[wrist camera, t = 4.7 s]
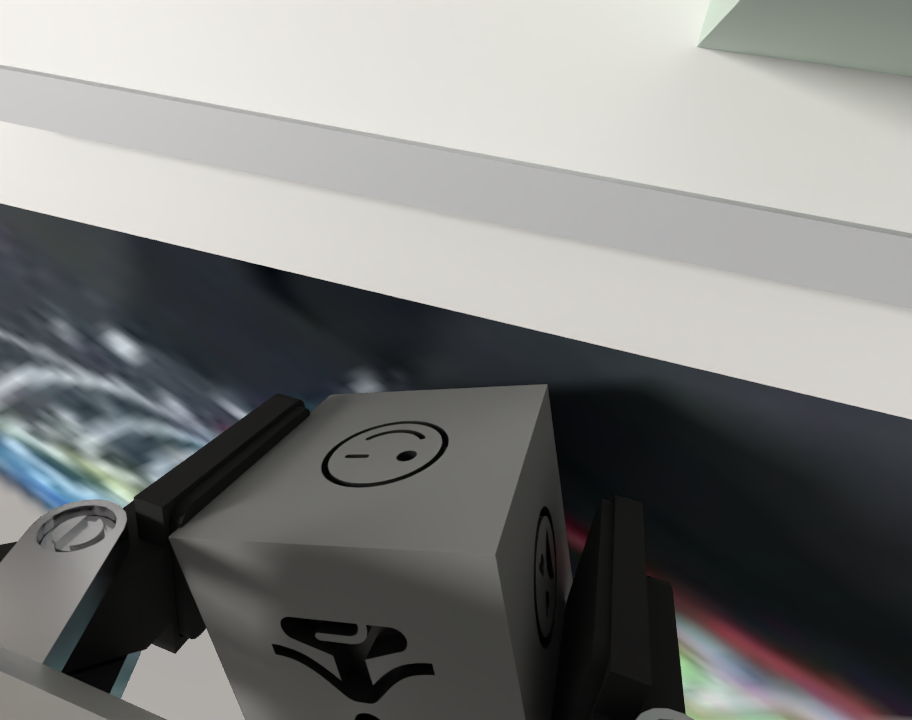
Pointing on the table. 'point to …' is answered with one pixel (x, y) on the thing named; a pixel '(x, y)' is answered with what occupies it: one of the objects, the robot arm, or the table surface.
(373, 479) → the dice cube
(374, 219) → the rail board
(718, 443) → the table surface
